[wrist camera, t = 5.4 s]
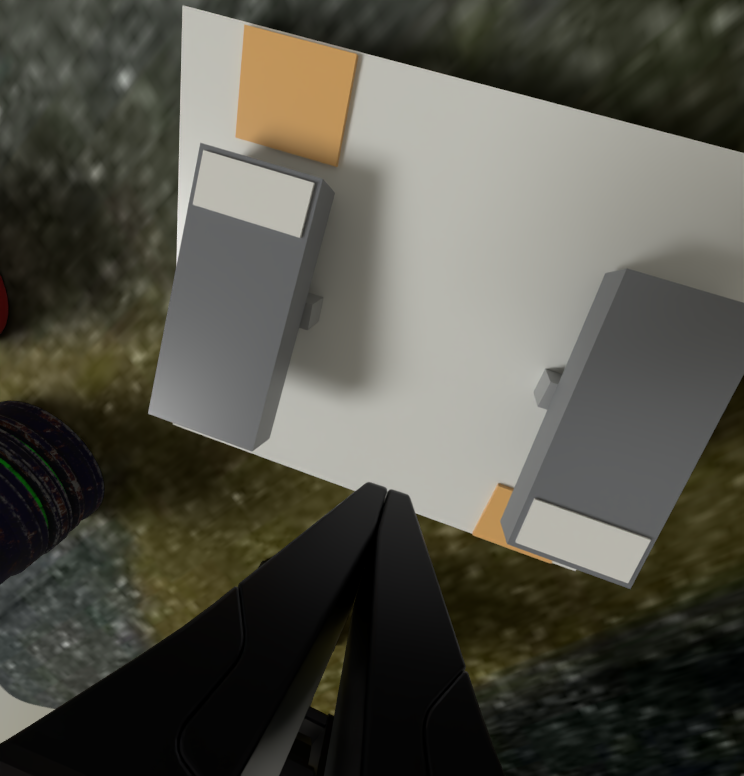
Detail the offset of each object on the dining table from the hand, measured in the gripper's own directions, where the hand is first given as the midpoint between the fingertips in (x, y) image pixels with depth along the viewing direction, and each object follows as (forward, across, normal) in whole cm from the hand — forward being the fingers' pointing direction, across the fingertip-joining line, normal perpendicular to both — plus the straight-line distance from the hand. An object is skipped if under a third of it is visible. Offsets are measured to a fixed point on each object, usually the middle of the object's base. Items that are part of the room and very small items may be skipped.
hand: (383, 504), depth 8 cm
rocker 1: (+6, +7, -1) cm, 9 cm away
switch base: (+12, +1, 0) cm, 12 cm away
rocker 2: (+6, -6, 0) cm, 9 cm away
